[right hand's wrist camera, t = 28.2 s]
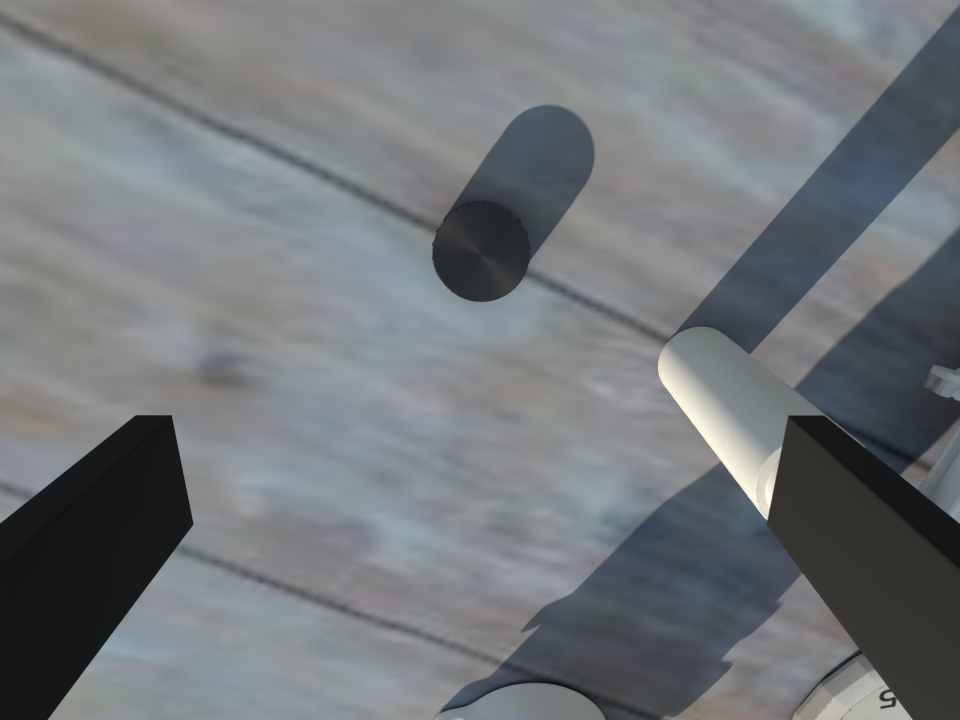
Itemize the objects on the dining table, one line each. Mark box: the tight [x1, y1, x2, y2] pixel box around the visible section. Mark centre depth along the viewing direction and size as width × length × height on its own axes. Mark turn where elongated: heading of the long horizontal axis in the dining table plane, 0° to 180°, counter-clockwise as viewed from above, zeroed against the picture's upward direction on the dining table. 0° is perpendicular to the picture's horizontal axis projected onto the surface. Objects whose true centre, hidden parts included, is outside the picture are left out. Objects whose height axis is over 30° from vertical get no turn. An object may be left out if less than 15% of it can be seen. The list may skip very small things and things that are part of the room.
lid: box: [432, 201, 530, 302], centre depth 39 cm, size 6×6×2 cm
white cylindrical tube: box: [658, 327, 864, 520], centre depth 35 cm, size 6×6×18 cm
